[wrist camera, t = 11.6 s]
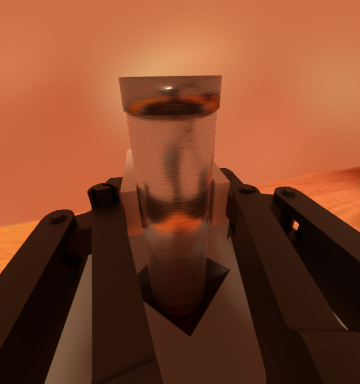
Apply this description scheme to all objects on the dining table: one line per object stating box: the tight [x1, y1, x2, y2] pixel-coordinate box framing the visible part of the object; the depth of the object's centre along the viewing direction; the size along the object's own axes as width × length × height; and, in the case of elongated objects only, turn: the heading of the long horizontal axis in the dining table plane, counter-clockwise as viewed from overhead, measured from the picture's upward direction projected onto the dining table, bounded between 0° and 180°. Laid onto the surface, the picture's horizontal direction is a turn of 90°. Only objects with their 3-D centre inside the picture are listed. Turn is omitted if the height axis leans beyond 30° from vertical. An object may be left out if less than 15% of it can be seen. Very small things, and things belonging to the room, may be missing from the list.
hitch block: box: [45, 216, 347, 384], centre depth 16 cm, size 20×20×6 cm
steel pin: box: [119, 75, 222, 315], centre depth 12 cm, size 4×4×14 cm
